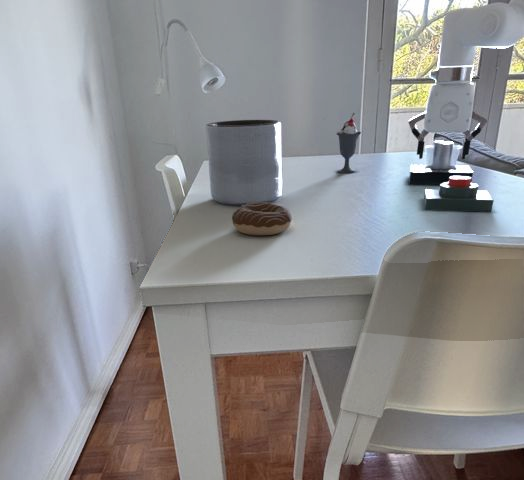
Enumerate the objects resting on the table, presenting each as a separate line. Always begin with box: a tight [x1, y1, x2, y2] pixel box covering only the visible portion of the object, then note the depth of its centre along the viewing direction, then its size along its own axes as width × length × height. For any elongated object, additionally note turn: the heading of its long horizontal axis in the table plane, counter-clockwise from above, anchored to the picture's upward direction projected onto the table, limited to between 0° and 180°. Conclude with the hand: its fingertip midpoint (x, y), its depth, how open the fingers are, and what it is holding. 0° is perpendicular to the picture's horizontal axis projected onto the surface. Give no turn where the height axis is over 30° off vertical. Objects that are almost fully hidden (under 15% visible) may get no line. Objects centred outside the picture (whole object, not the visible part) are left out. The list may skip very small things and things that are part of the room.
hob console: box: [408, 164, 474, 186], centre depth 116 cm, size 14×10×3 cm
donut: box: [231, 202, 293, 236], centre depth 82 cm, size 11×11×4 cm
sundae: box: [335, 112, 362, 174], centre depth 129 cm, size 7×7×15 cm
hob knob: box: [431, 140, 454, 170], centre depth 113 cm, size 4×4×6 cm
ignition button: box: [448, 176, 472, 187], centre depth 92 cm, size 4×4×2 cm
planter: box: [205, 119, 284, 206], centre depth 102 cm, size 16×16×16 cm
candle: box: [424, 144, 462, 166], centre depth 126 cm, size 9×9×6 cm
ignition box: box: [423, 182, 494, 213], centre depth 93 cm, size 12×9×4 cm
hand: (441, 158), depth 114 cm, fingers open, 9 cm apart
